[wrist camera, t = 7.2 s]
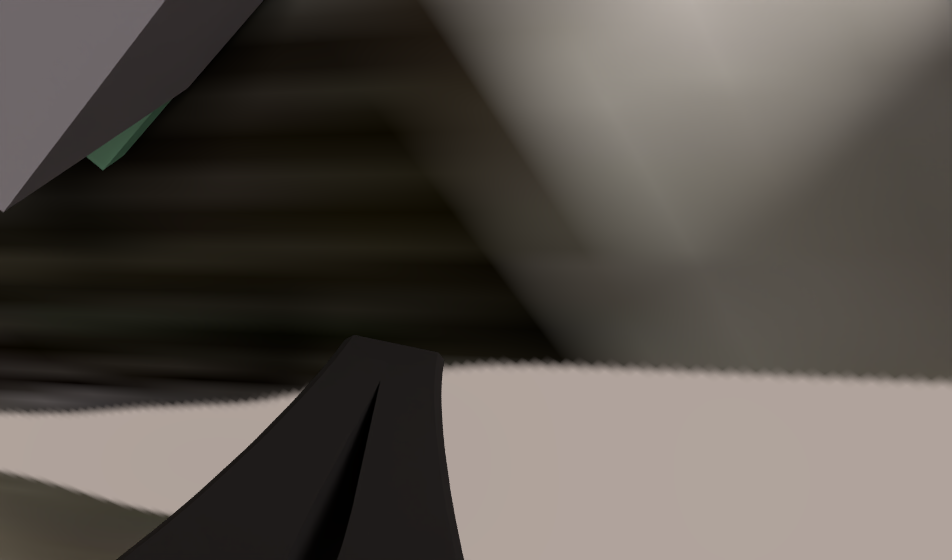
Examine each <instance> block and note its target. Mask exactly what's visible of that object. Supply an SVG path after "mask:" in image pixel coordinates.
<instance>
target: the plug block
mask: <svg viewBox="0 0 952 560" xmlns="http://www.w3.org/2000/svg"><path fill="white" fill-rule="evenodd" d="M262 1H263V0H0V210H1V211H3V212H4V211H6V210H7V209H9V208H10V207H12V206H13V205H15V204H16V203H18V202H19V201H21V200H22V199H24V198H25V197H27V196H28V195H30V194H31V193H33V192H34V191H36V190H37V189H39V188H40V187H42V186H43V185H45V184H46V183H48V182H49V181H51V180H52V179H54V178H55V177H56V176H58V175H59V174H61V173H62V172H64V171H65V170H67V169H68V168H70V167H71V166H73V165H74V164H76V163H77V162H79V161H80V160H82V159H83V158H85V157H86V156H88V155H89V154H91V153H92V152H94V151H95V150H97V149H98V148H100V147H101V146H103V145H104V144H105V143H107V142H108V141H110V140H111V139H113V138H114V137H116V136H117V135H119V134H120V133H122V132H123V131H125V130H126V129H128V128H129V127H131V126H132V125H134V124H135V123H137V122H138V121H140V120H141V119H143V118H144V117H146V116H147V115H149V114H150V113H152V112H153V111H154V110H156V109H157V108H159V107H160V106H162V105H163V104H165V103H166V102H168V101H169V100H171V99H172V98H174V97H175V96H177V95H178V94H180V93H181V92H183V91H184V90H186V89H187V88H188V87H189V86H190V85H191V84H192V83H193V81H194V80H195V79H196V78H197V77H198V76H199V74H200V73H201V72H202V71H203V70H204V69H205V67H206V66H207V65H208V64H209V63H210V62H211V61H212V59H213V58H214V57H215V56H216V55H217V54H218V52H219V51H220V50H221V49H222V48H223V47H224V45H225V44H226V43H227V42H228V41H229V40H230V38H231V37H232V36H233V35H234V34H235V33H236V32H237V30H238V29H239V28H240V27H241V26H242V25H243V23H244V22H245V21H246V20H247V19H248V18H249V16H250V15H251V14H252V13H253V12H254V11H255V9H256V8H257V7H258V6H259V5H260V4H261V3H262Z"/></svg>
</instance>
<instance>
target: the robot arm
mask: <svg viewBox="0 0 952 560" xmlns="http://www.w3.org/2000/svg"><path fill="white" fill-rule="evenodd" d="M444 361H445V360H444V359H443V358H442V357H441V355H440V354H439V353H438V352H433V351H428V350H423V349H418V348H414V347H409V346H404V345H399V344H394V343H389V342H385V341H380V340H375V339H370V338H365V337H360V336H356V335H353V336H351V337H349V338H347V339H345V341H344V342H343V343H342V345H341V346H340V347H339V349H338V350H337V351H336V352H335V354H334V355H333V356H332V357H331V359H330V360H329V361H328V362H327V363H326V365H325V366H324V367H323V368H322V369H321V371H320V372H319V373H318V374H317V375H316V376H315V377H314V379H313V380H312V381H311V382H310V383H309V384H308V385H307V386H306V387H305V389H304V390H303V391H302V392H301V393H300V394H299V395H298V396H297V397H296V398H295V400H294V401H293V402H292V403H291V404H290V405H289V406H288V407H287V408H286V409H285V410H284V411H283V412H282V413H281V414H280V415H279V416H278V417H277V418H276V419H275V420H274V421H273V422H272V423H271V424H270V425H269V426H268V427H267V428H266V429H265V430H264V431H263V433H261V434H260V435H259V437H258V438H257V439H255V440H254V441H253V443H251V444H250V445H249V446H248V447H247V448H246V449H245V450H244V451H243V452H242V453H241V454H240V455H239V456H238V457H236V458H235V459H234V460H233V461H232V462H231V463H230V464H229V465H228V466H227V467H226V468H224V469H223V470H222V471H221V472H220V473H219V474H218V475H217V476H216V477H215V478H214V479H213V480H211V481H210V482H209V483H208V484H207V485H206V486H205V487H204V488H203V489H202V490H201V491H200V492H198V493H197V494H196V495H195V496H194V497H193V498H191V499H190V500H189V501H188V502H187V503H185V504H184V505H183V506H182V507H181V508H180V509H178V510H177V511H176V512H175V513H174V514H173V515H171V516H170V517H169V518H168V519H167V520H165V521H164V522H163V523H162V524H160V525H159V526H158V527H157V528H156V529H154V530H153V531H152V532H151V533H149V534H148V535H147V536H146V537H144V538H143V539H142V540H141V541H139V542H138V543H137V544H136V545H134V546H133V547H132V548H131V549H129V550H128V551H127V552H125V553H124V554H123V555H122V556H120V557H119V558H118V559H117V560H464V558H463V554H462V549H461V544H460V539H459V534H458V529H457V524H456V519H455V514H454V508H453V503H452V497H451V491H450V484H449V477H448V470H447V463H446V455H445V448H444V437H443V425H442V407H441V385H442V372H443V366H444Z"/></svg>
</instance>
